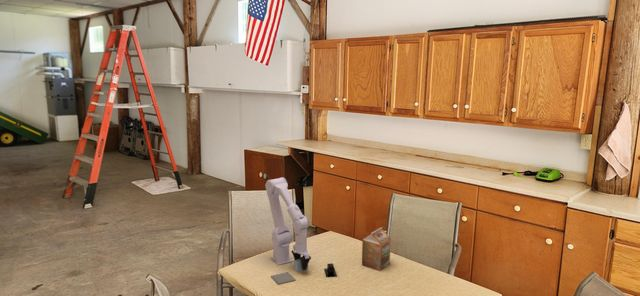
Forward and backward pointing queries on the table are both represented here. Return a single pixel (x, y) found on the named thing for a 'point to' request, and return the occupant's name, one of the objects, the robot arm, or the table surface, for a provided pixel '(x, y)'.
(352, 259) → the table surface
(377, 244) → the milk carton
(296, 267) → the brick
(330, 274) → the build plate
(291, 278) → the mat
